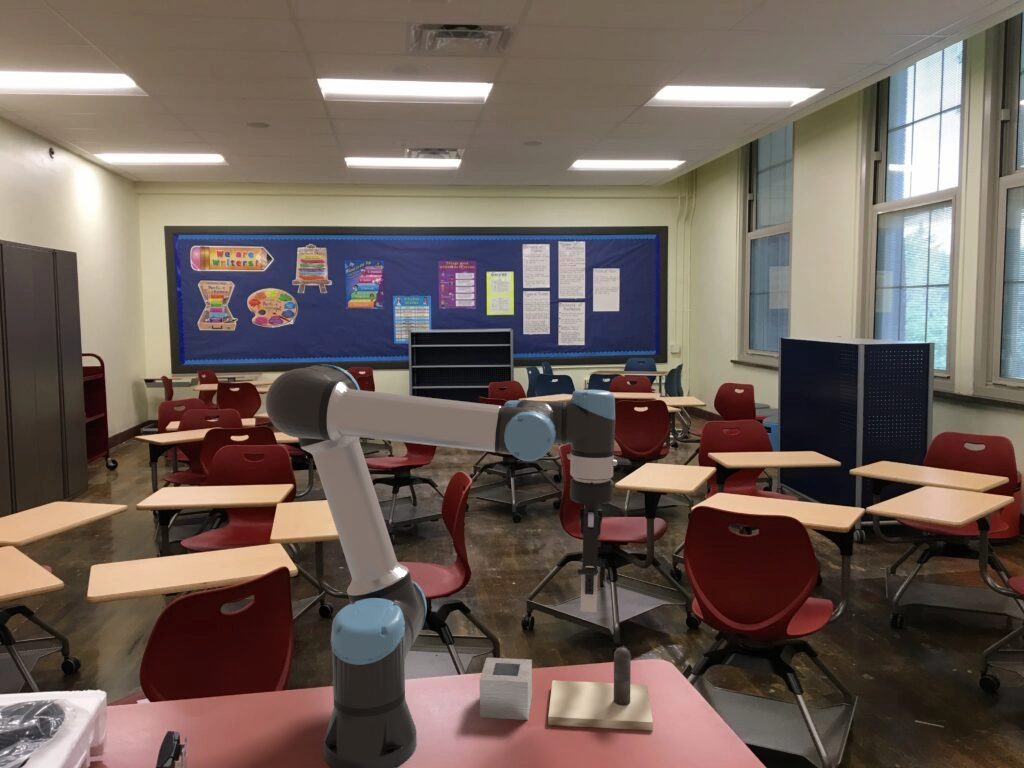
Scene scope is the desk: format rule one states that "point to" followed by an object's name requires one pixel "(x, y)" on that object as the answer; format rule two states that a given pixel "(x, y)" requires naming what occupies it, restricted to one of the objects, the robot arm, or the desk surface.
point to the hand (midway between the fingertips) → (588, 596)
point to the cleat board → (602, 701)
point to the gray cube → (506, 688)
